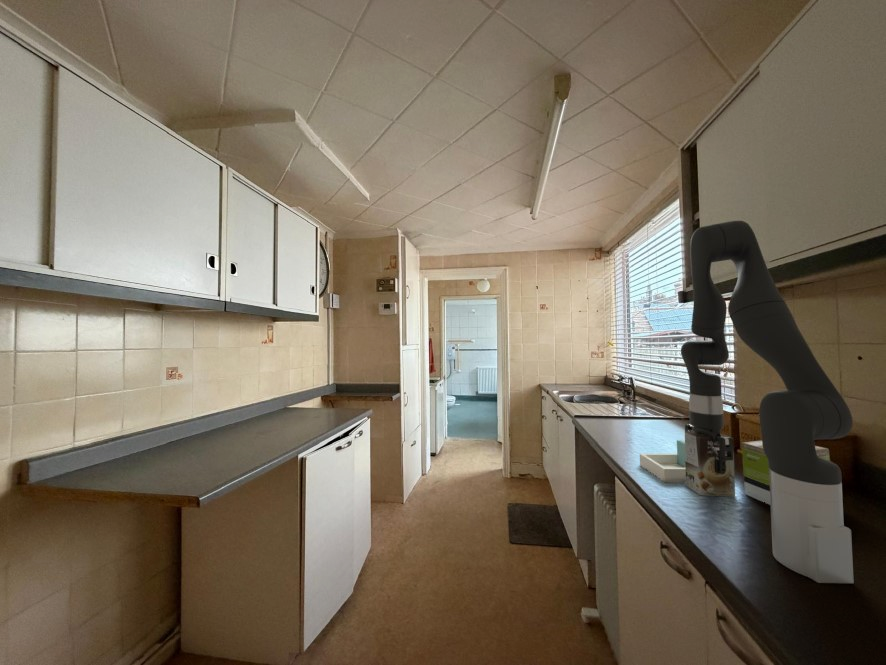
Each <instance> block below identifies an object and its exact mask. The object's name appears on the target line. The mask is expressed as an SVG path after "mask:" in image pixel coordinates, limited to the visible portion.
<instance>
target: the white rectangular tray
mask: <svg viewBox="0 0 886 665" xmlns="http://www.w3.org/2000/svg"><path fill="white" fill-rule="evenodd" d="M640 465H641V466H640ZM639 466H640V467H641V468H643V467H644V468H643V469H644V470H646V469H647V470H649V471H650V472H651V473H650V472H649V471H648V472H649V473H650V474H652V473H653V474H654V475H653V474H652V475H653V476H655V475H656V476H657V477H656V476H655V477H656V478H658V479H659V478H660V479H659V480H661V481H662V482H663V481H664V483H686V470H685V469H686V468H685V467H684V466H682V465H680V464H678V461H677V453H639ZM647 470H646V471H647Z"/></svg>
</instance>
